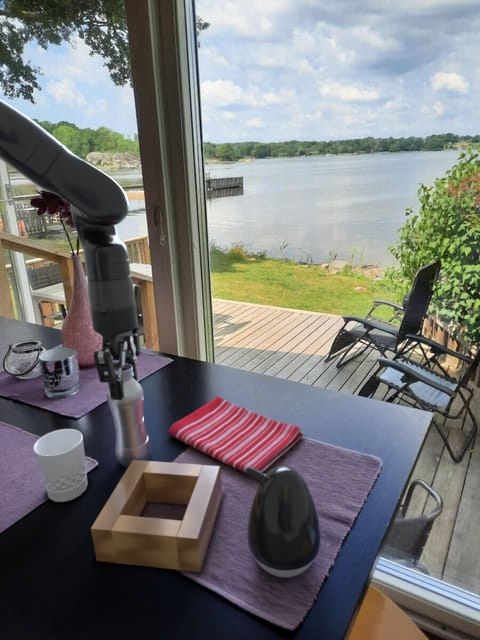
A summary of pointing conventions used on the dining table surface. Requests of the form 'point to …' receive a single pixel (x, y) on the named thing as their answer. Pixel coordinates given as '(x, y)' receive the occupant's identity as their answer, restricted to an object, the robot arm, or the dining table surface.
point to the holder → (152, 533)
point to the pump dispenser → (283, 522)
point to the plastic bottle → (129, 420)
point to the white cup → (62, 464)
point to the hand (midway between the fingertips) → (124, 389)
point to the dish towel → (236, 435)
